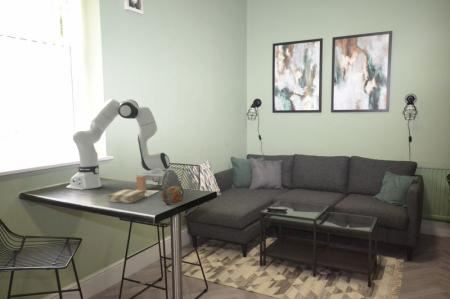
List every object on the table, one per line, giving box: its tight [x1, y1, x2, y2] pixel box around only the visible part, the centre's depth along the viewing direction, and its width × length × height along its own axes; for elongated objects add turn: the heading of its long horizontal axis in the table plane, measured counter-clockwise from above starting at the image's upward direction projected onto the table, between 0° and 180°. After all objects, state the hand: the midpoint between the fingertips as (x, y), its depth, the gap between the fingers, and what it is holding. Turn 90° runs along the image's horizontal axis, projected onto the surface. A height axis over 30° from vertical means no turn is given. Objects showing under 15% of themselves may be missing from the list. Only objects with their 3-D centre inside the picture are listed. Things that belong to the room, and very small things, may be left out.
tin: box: [162, 185, 184, 205], centre depth 198 cm, size 15×3×8 cm, turn 149°
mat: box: [145, 189, 160, 197], centre depth 222 cm, size 16×14×1 cm
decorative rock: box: [160, 169, 183, 192], centre depth 215 cm, size 16×7×15 cm, turn 150°
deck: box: [108, 189, 146, 204], centre depth 207 cm, size 14×14×4 cm
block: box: [135, 175, 147, 192], centre depth 222 cm, size 4×4×10 cm
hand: (146, 179), depth 227 cm, fingers open, 8 cm apart
